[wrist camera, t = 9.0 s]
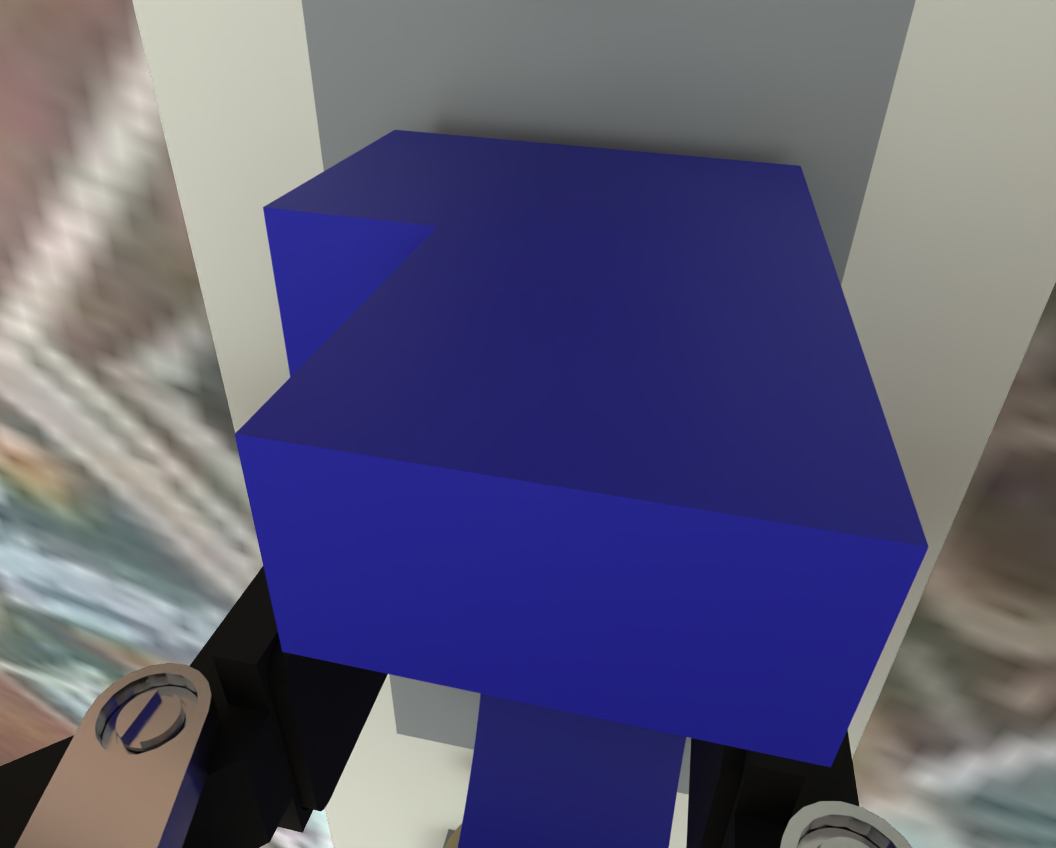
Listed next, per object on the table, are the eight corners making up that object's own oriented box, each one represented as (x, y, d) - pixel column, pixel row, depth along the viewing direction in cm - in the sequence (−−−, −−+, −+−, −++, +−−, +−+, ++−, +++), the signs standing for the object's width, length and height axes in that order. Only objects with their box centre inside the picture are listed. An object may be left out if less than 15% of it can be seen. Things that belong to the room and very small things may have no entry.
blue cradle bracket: (394, 129, 9) (-45, 389, 4) (800, 166, 8) (928, 545, 3) (431, 750, 15) (292, 1138, 10) (654, 801, 14) (618, 1243, 10)
